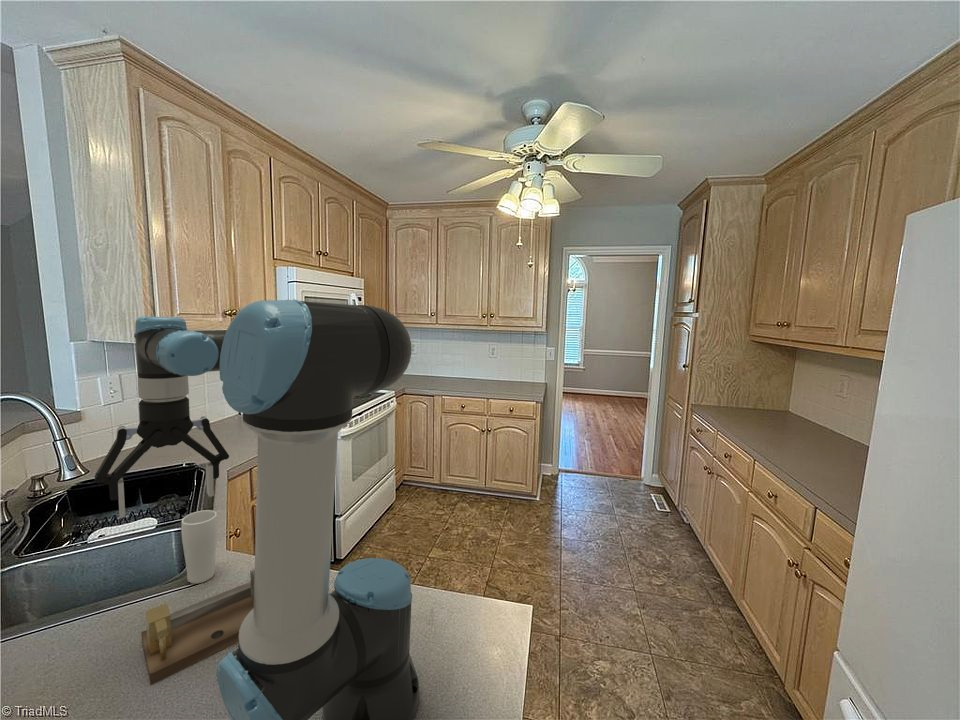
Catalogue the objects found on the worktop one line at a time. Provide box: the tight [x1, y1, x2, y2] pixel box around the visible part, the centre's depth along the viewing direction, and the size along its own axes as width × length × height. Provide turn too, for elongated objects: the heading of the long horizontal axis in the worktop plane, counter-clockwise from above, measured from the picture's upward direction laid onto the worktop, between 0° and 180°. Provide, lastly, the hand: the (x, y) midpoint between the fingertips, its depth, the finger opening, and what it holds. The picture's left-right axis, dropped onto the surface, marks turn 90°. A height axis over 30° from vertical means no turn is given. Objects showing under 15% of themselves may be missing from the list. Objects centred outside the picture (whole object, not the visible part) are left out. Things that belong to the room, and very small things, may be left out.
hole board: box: [140, 568, 255, 686], centre depth 78 cm, size 12×24×8 cm, turn 136°
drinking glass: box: [180, 509, 218, 585], centre depth 91 cm, size 7×7×15 cm
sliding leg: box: [145, 602, 172, 660], centre depth 70 cm, size 7×3×6 cm, turn 46°
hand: (168, 504), depth 77 cm, fingers open, 13 cm apart
